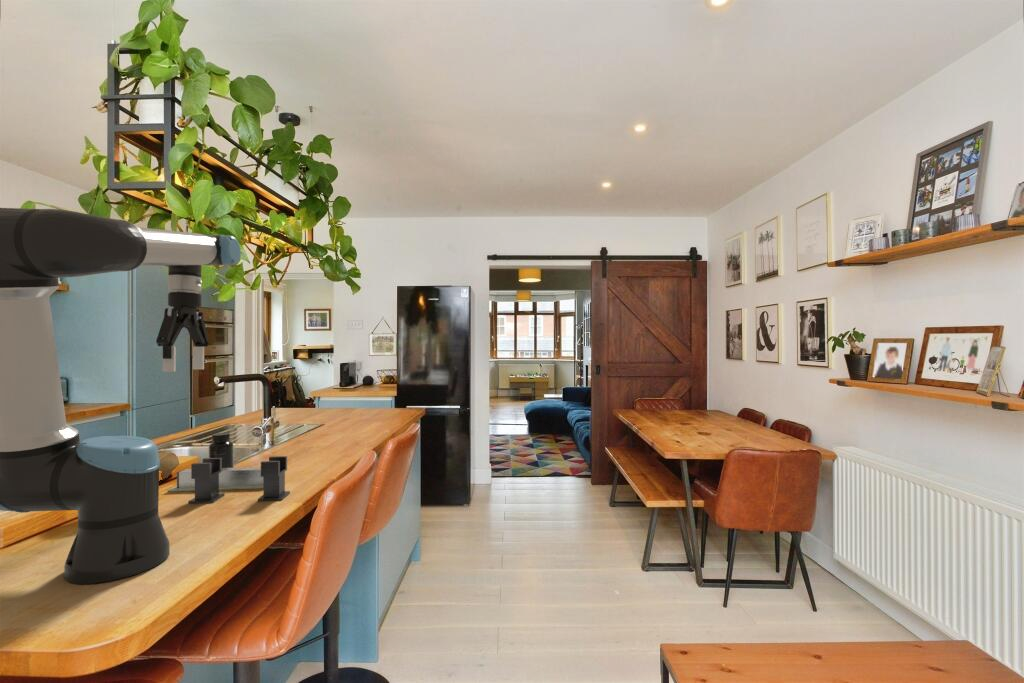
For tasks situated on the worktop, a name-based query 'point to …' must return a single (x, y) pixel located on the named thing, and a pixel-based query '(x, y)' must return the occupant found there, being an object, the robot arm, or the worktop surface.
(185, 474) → the rail
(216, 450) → the supplement bottle
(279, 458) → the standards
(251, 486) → the mat
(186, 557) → the worktop surface
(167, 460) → the bread roll
